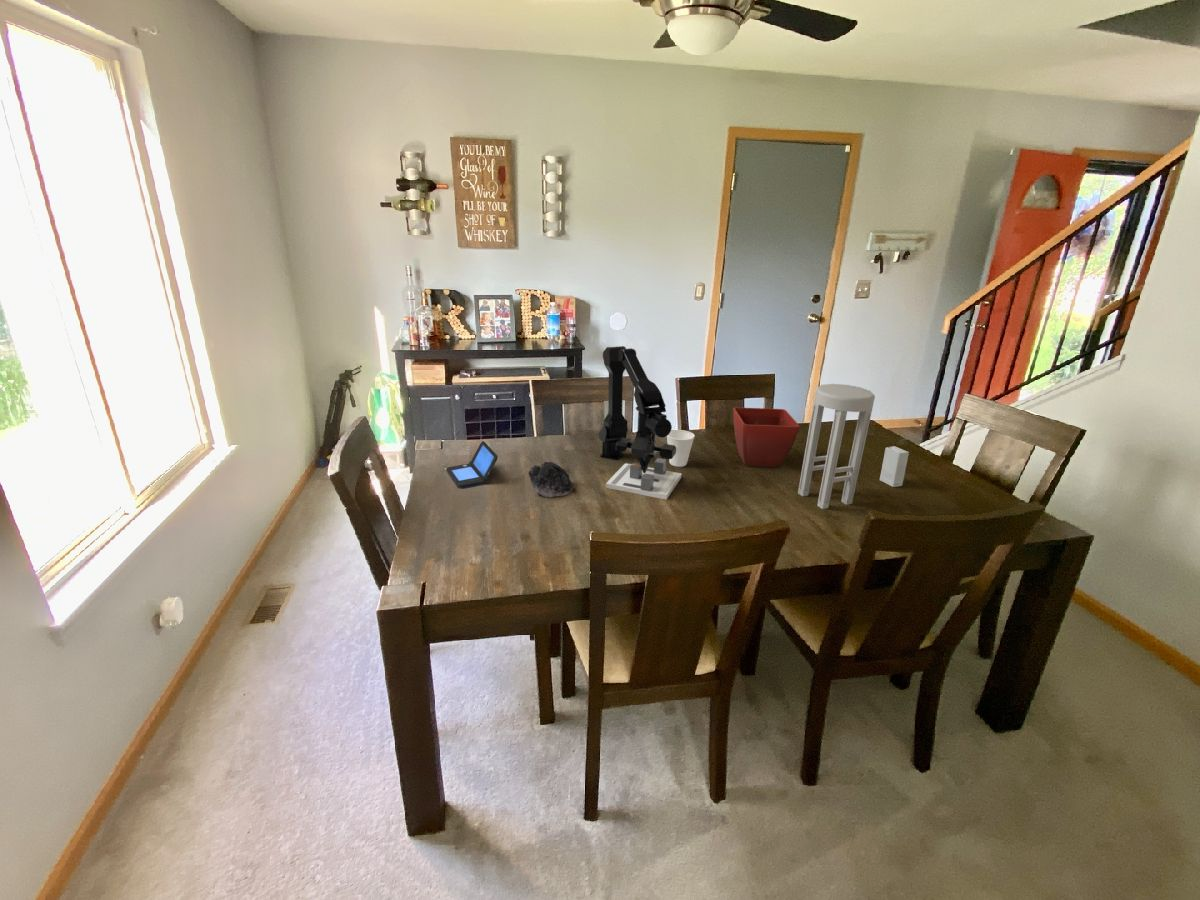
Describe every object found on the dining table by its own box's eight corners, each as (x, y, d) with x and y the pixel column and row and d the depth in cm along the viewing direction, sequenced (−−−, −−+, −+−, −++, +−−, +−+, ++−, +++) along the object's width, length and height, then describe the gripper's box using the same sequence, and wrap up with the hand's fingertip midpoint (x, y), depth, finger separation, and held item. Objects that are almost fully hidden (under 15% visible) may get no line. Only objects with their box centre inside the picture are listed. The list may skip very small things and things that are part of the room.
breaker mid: (629, 477, 185) (630, 466, 183) (633, 473, 188) (633, 462, 186) (638, 479, 184) (639, 467, 182) (641, 475, 187) (642, 463, 185)
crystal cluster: (578, 485, 184) (577, 456, 181) (565, 500, 171) (564, 468, 169) (539, 483, 187) (538, 454, 185) (524, 497, 175) (522, 466, 172)
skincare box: (902, 486, 188) (911, 452, 184) (892, 487, 187) (900, 453, 182) (888, 478, 193) (895, 445, 189) (877, 480, 192) (885, 446, 188)
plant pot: (793, 472, 197) (801, 426, 190) (738, 470, 197) (744, 424, 191) (778, 451, 214) (785, 408, 208) (727, 449, 215) (732, 407, 208)
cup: (691, 459, 205) (694, 430, 201) (692, 470, 196) (695, 440, 191) (663, 457, 206) (666, 429, 201) (664, 468, 196) (666, 438, 192)
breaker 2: (653, 472, 189) (654, 461, 187) (656, 468, 192) (657, 458, 190) (662, 474, 188) (663, 463, 186) (665, 470, 191) (666, 459, 189)
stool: (788, 491, 182) (805, 385, 169) (826, 485, 187) (846, 381, 174) (821, 513, 169) (843, 400, 156) (862, 505, 174) (886, 395, 161)
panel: (605, 487, 181) (606, 483, 180) (624, 467, 196) (625, 463, 196) (666, 499, 174) (666, 495, 174) (681, 477, 190) (681, 473, 189)
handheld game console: (445, 471, 190) (443, 445, 186) (484, 464, 196) (483, 439, 193) (458, 490, 177) (456, 462, 174) (499, 482, 183) (498, 455, 180)
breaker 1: (640, 489, 177) (641, 477, 175) (644, 485, 180) (644, 473, 178) (649, 491, 176) (650, 479, 174) (653, 486, 179) (654, 475, 177)
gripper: (609, 430, 175) (608, 477, 180) (668, 439, 168) (665, 487, 174) (622, 420, 184) (620, 464, 190) (678, 428, 178) (674, 473, 184)
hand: (644, 472), depth 184 cm, fingers closed
